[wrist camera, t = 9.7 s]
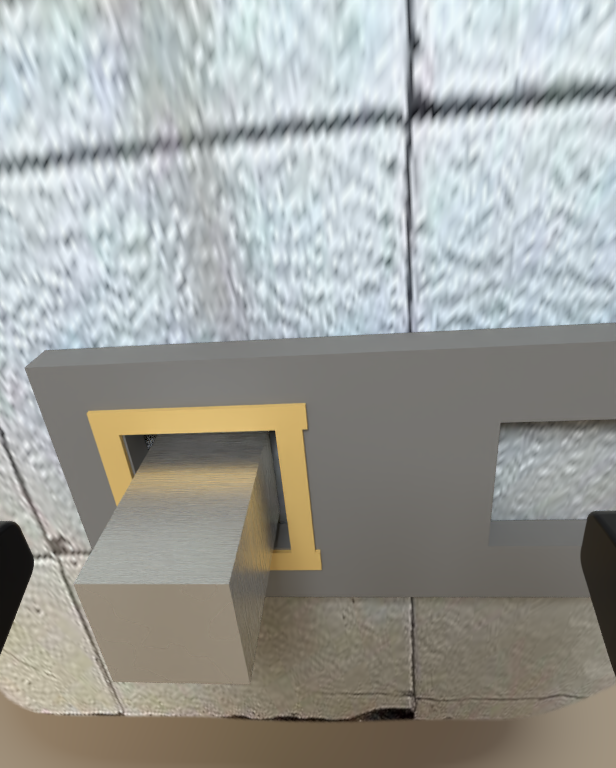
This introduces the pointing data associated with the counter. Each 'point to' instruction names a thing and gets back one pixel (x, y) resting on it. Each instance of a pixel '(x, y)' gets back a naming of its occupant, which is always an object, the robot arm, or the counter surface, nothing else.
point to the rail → (351, 446)
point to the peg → (186, 561)
